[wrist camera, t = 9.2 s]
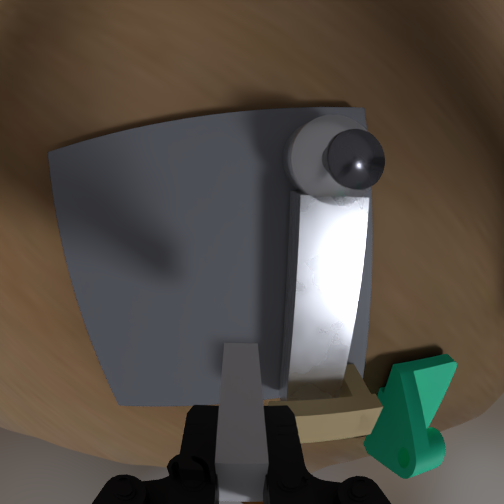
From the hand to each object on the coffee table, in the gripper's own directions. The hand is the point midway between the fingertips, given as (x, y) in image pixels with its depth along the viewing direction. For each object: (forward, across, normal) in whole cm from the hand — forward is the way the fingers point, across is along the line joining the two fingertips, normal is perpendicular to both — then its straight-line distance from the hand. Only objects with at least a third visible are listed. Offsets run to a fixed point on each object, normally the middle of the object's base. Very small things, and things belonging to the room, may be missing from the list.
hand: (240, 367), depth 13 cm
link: (+7, +5, +2) cm, 9 cm away
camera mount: (+10, +18, -13) cm, 24 cm away
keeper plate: (+9, -2, +1) cm, 9 cm away
